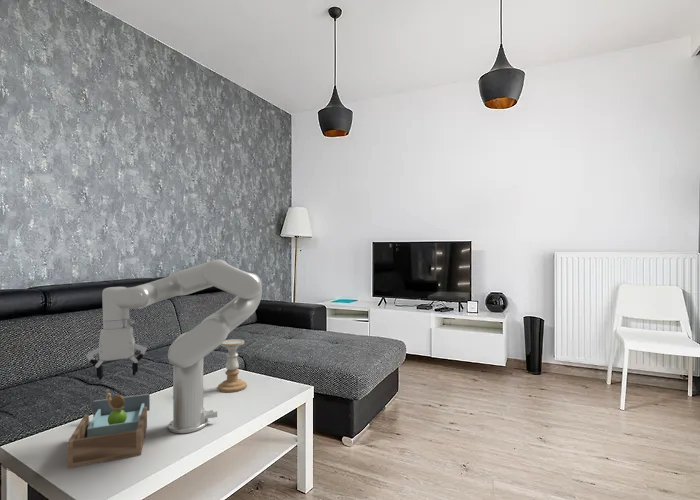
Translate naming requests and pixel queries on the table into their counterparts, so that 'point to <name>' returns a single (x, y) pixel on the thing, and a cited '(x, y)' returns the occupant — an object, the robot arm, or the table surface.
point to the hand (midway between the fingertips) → (117, 376)
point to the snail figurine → (116, 409)
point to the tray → (103, 410)
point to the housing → (105, 443)
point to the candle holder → (232, 368)
